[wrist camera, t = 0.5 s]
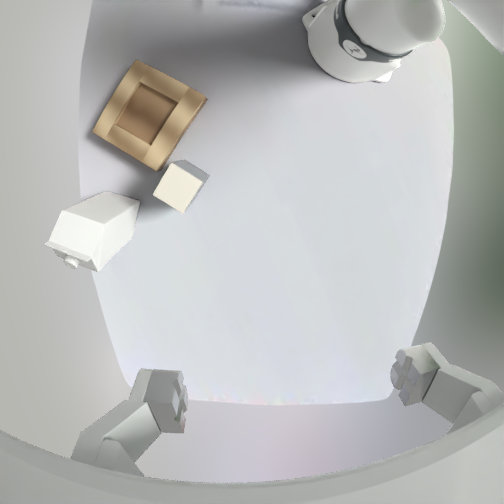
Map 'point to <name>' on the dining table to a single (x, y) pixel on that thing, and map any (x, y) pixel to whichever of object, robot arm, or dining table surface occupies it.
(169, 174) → the plain greyish beige box
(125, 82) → the square wooden tray
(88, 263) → the milk carton
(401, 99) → the dining table surface
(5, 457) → the robot arm
